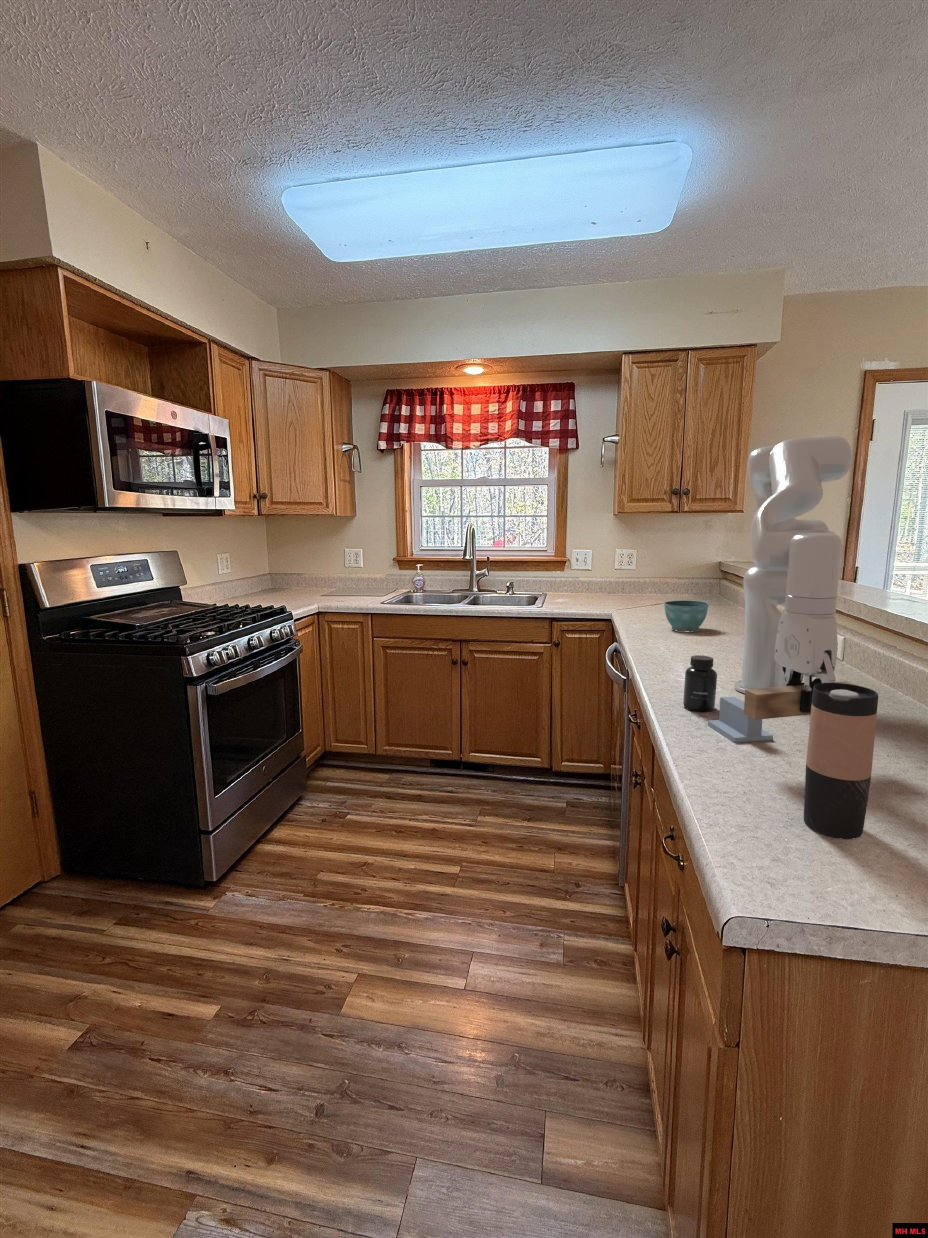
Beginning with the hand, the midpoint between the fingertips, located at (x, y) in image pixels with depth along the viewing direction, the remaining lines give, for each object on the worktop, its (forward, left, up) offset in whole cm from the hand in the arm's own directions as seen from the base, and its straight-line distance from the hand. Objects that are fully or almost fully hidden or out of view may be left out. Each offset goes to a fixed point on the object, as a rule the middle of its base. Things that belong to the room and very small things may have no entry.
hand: (801, 707), depth 102 cm
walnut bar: (0, 0, -1) cm, 1 cm away
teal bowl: (-40, -120, -10) cm, 126 cm away
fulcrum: (+2, -15, -10) cm, 18 cm away
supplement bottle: (+2, -31, -10) cm, 32 cm away
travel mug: (+10, +21, -10) cm, 26 cm away
